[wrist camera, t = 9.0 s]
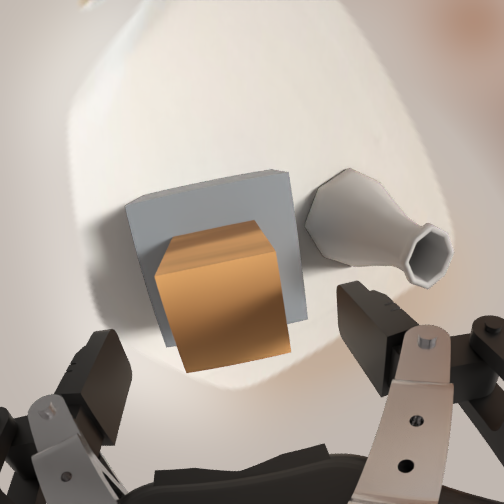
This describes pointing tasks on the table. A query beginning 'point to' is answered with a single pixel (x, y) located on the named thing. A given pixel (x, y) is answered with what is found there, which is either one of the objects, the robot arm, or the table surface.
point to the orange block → (223, 297)
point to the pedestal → (217, 215)
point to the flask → (375, 230)
